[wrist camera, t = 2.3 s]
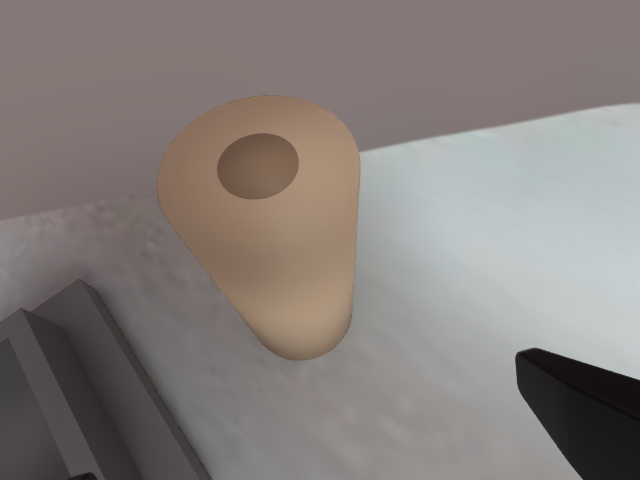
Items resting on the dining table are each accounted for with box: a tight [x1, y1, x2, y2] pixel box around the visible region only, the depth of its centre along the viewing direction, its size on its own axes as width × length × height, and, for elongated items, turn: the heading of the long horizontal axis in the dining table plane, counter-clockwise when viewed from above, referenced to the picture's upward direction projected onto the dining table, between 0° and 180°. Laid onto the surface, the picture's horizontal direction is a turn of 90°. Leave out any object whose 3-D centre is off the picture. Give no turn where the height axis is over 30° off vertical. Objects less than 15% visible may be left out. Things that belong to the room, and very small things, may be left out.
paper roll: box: [157, 95, 360, 360], centre depth 17 cm, size 6×6×13 cm
